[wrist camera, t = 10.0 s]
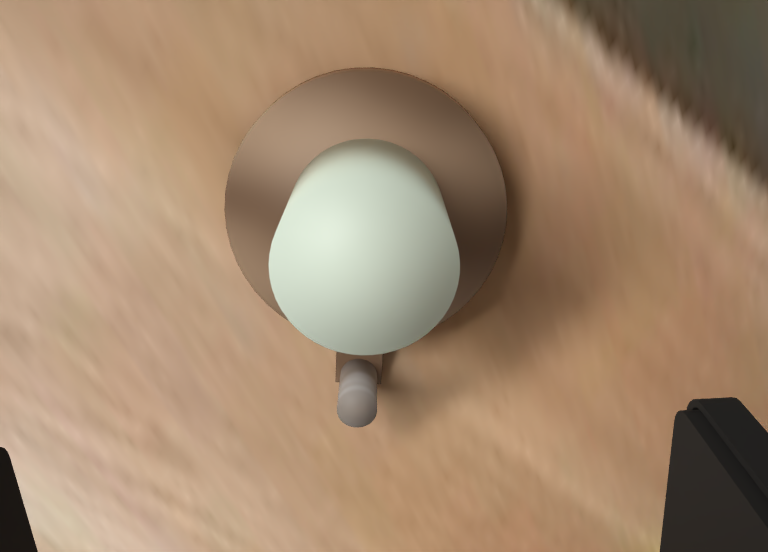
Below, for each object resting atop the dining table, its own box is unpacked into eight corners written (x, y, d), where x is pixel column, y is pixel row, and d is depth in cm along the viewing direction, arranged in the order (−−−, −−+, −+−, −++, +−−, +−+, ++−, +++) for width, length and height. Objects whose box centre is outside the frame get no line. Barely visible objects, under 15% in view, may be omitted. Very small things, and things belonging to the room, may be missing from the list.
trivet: (228, 59, 28) (209, 68, 25) (516, 75, 28) (534, 86, 25) (235, 378, 33) (220, 421, 30) (479, 389, 33) (490, 433, 30)
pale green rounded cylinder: (290, 134, 27) (268, 171, 22) (450, 142, 28) (469, 181, 22) (288, 327, 30) (268, 404, 25) (433, 334, 30) (446, 411, 25)
